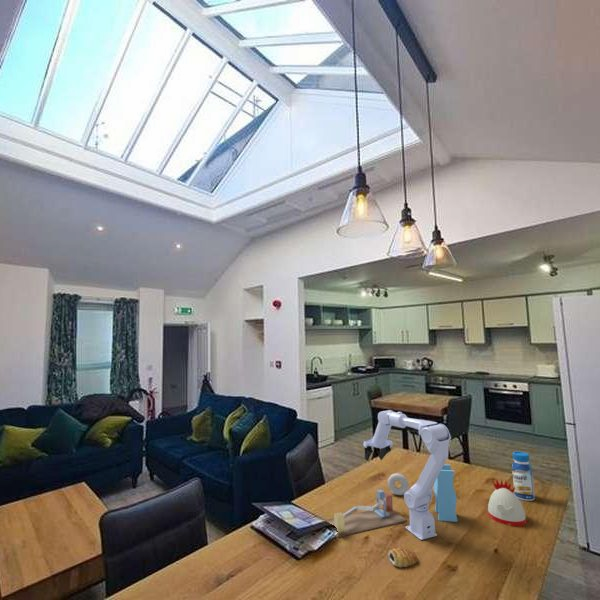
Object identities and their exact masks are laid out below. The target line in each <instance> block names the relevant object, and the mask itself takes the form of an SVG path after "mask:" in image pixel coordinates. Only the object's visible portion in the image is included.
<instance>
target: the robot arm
mask: <svg viewBox="0 0 600 600" xmlns="http://www.w3.org/2000/svg"><path fill="white" fill-rule="evenodd" d="M377 421H378V423H377V425H376V428H375V431H374V434H373V436H372V438H371V439H368V440H366V441H365V440H364V441H363V445H362V446H363V447H364V460H366V462H367V461H369V460H370V457H371V455H372V453H374V451H373V449H372V448H377V449H380V450H379V453H378V457H379V459H380V460H381V461H383V459H384V457H386V456H387V454H389V453H391V450H392V448H391V447H393V445H394V442H393V441H392V440H389V439H388V436H389V434H390V431H391V428H392V427H397V428H401V429H405V428H406V427H408V428H412V429H415V430H418V436H420V437H421V441H422V442H423V443H424V445H425V447H426V448H427V450H428V452H429V453H430V455H429V457H428V459H427V461H426V463H425V464H424V465H425V466H424V467H423V468H422V471H421V473H420V475H419V477H418V479H417V481H416V483H415V484H413V485H412V486H411V487H410V488H409V489H408V491H407V492H405V494H404V495H403V499H404V502H405V505H406V506H407V508H408V516H409V525H406V526H405V529H406V530H407V531H409V532H410V533H411V534H412V535H414V536H415V537H416V538H418V539H419V540H420V541H421V540H426V539H430V538H433V537H437V536H438V534H437V533H436V527H435V525H436V523H435V517H434V515H433V514H432V513H431V512H430V510H429V507H430V504H431V502H432V495H433V494H434V490H433V487H434V483H435V480H436V479H437V477H438V475H439V473H440V471H441V469H442V467H443V466H444V464H446V462H447V460H448V458H449V447H450V446H449V445H450V441H451V439H452V435H451V433H450V431H449V429H448V427H447V426H446V425H445V424H443V423H438V422H436V421H431V420H424V419H417V418H412V417H411V418H410V417H408V416H407V415H406V414H405V413H403V412H402V411H397V412H396V411H394V410H392V409H387V410H382V411H379V412H378V413H377Z"/></svg>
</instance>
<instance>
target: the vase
mask: <svg viewBox="0 0 600 600" xmlns="http://www.w3.org/2000/svg"><path fill="white" fill-rule="evenodd" d="M451 468H452V465H451V464H446V463H445V464H444V466H443V467H442V469H441V471H440V473H439V475H438V477H437V479H436V480H435V482H434V484H433V486H432V490H433V494H434V496H435V497H434V498H435V508H434V512H435V513H438V514H437V515H438V516H437V521H440V522H441V521H443V522H452V523H453V522H456V523H457V522H458V517H457V510H456V509H457V508H456V505H457V500H458V498H457V493H456V491H455V488H454V475H455V470H451Z"/></svg>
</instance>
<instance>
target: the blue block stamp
mask: <svg viewBox="0 0 600 600" xmlns="http://www.w3.org/2000/svg"><path fill="white" fill-rule="evenodd" d="M385 493H386V492H385V491H384V490H383V489H377V490H376V495H375V497H376V503H378V502H379V501H381V500H382V501H383V502H384V511H383V510H382V509H379V508H380V507H378V508H377V510H375V511H374V513H375V514H376V515H378V516H379V517H380V518H381V519H382V518H387V517H390V516H389V515H388V514H387V513H386V501H385V500H384V499H385Z"/></svg>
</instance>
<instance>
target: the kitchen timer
mask: <svg viewBox="0 0 600 600" xmlns="http://www.w3.org/2000/svg"><path fill="white" fill-rule="evenodd" d="M495 481H496V483H495V482H494V481H492V484H493V486H494V488H495V490H494V491H492V493H491V494H490V495H488V497H489V501H488V504H487V515H488V517H489V518H490V519H492V520H493V521H495V522H497V523H499V524H503V525H505V526H511V527H514V526H515V527H519V526H524V525H525V524H526V523H527V516H526V511H525V509H524V506H523V504H522V502H521V501H520V500H521V499H519V498H518V497H517V496H516V495H515V494H514V490H515V487H514V486H513V488H512V489H511V486H512V485H511V483H509V485H508V483H507V480H506V479H505V481H504V483H503V479H501V480H500V483H499V480H498V479H497V478H496V480H495Z"/></svg>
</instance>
